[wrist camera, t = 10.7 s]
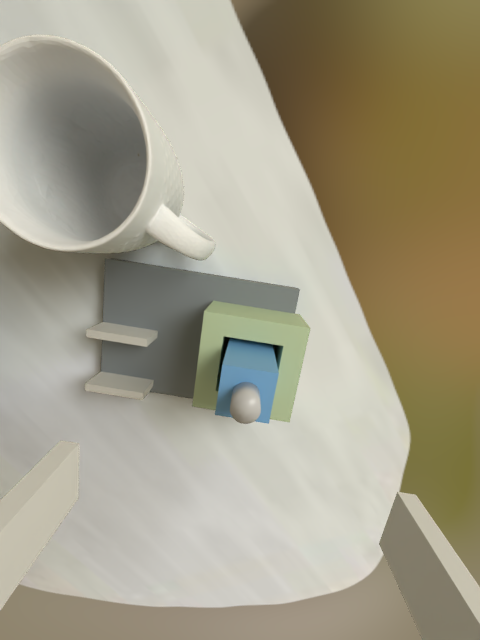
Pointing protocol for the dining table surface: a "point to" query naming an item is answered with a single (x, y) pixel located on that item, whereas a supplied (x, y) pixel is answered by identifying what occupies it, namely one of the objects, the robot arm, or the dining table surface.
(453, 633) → the robot arm
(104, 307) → the panel
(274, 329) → the port
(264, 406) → the plug
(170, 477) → the dining table surface
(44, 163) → the mug
